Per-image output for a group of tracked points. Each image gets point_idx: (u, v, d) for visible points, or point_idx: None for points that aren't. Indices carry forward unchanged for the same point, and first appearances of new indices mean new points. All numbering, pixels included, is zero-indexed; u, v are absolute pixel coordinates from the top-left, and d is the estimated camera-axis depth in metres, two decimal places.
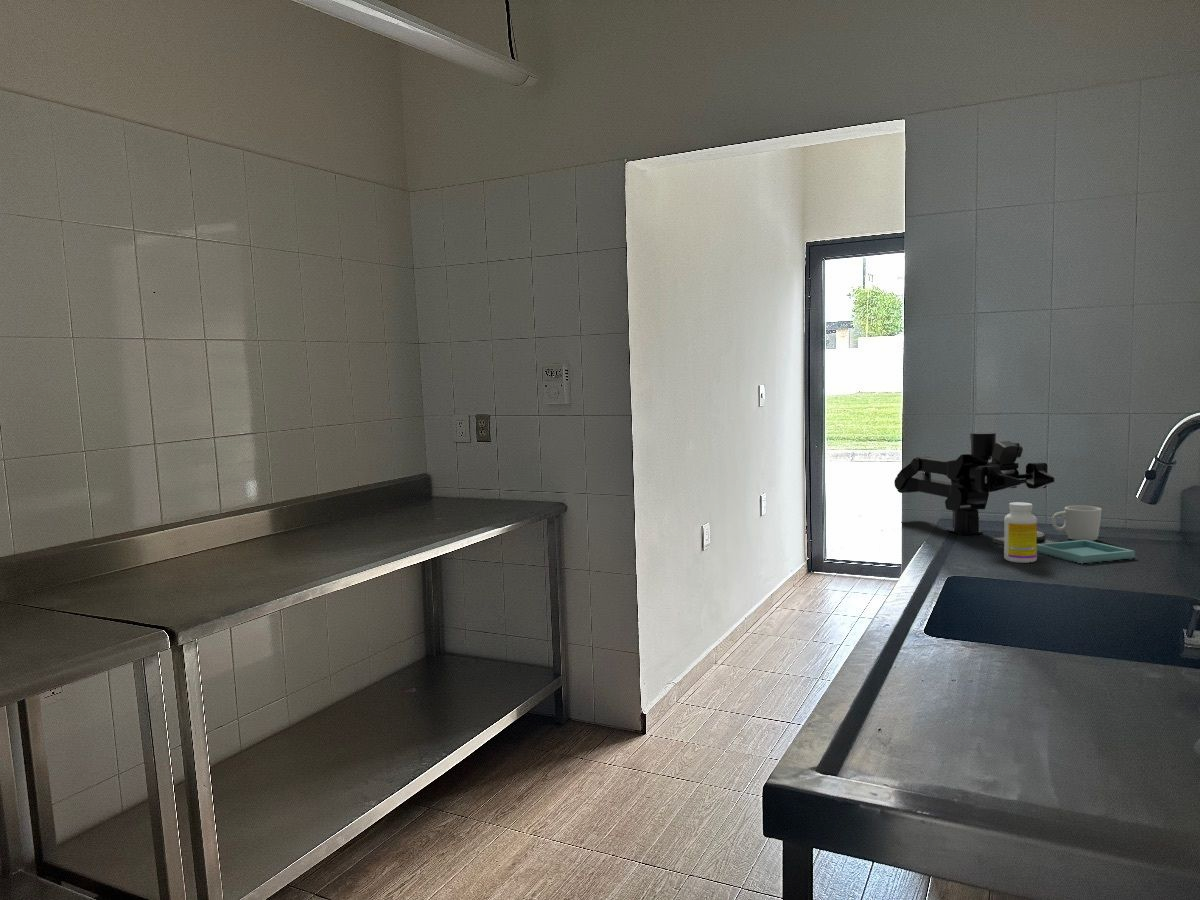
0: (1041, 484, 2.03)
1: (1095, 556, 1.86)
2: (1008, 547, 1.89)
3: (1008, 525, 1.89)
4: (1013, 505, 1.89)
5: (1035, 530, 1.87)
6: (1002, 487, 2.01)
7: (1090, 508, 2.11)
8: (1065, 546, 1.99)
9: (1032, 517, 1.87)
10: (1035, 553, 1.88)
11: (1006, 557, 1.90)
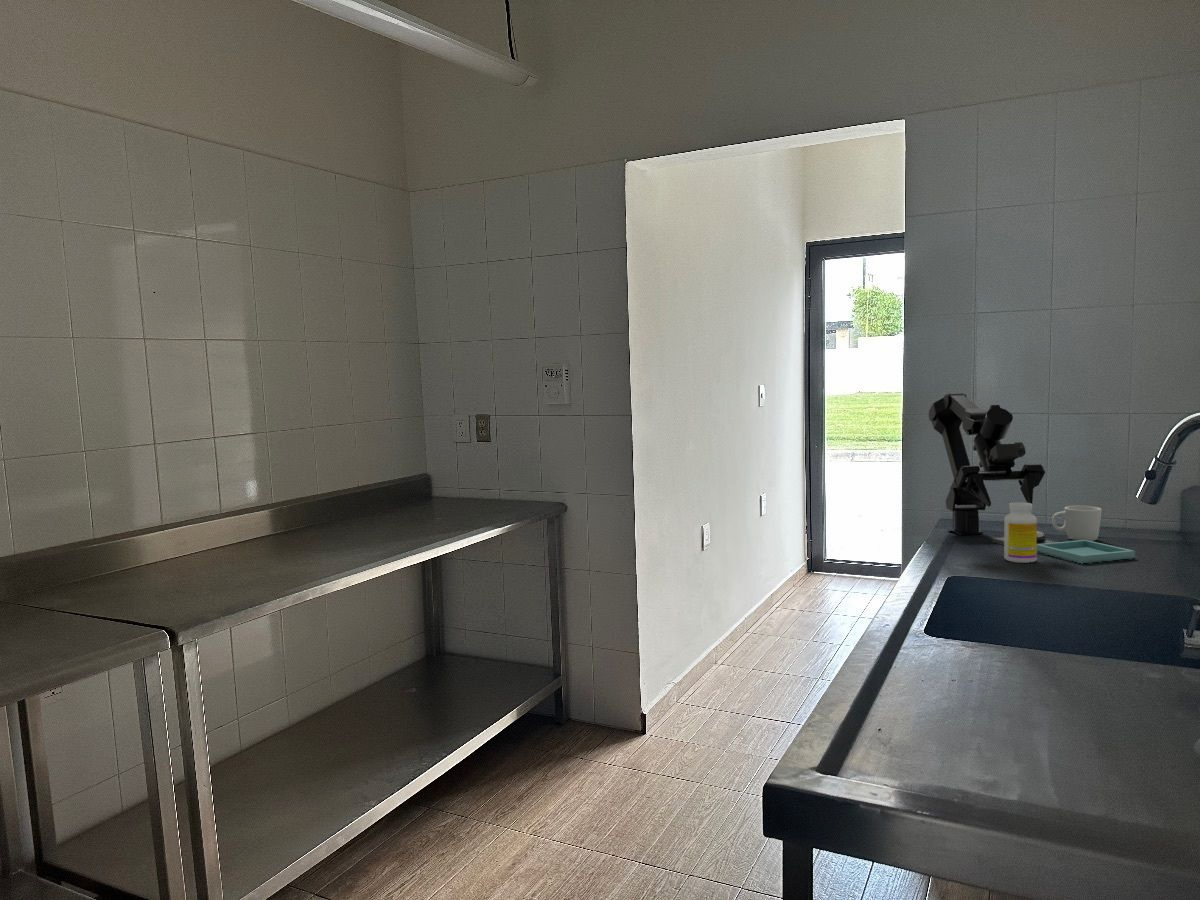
0: (1024, 494, 1.99)
1: (1095, 556, 1.86)
2: (1008, 547, 1.89)
3: (1008, 525, 1.89)
4: (1013, 505, 1.89)
5: (1035, 530, 1.87)
6: (976, 495, 1.99)
7: (1090, 508, 2.11)
8: (1065, 546, 1.99)
9: (1032, 517, 1.87)
10: (1035, 553, 1.88)
11: (1006, 557, 1.90)
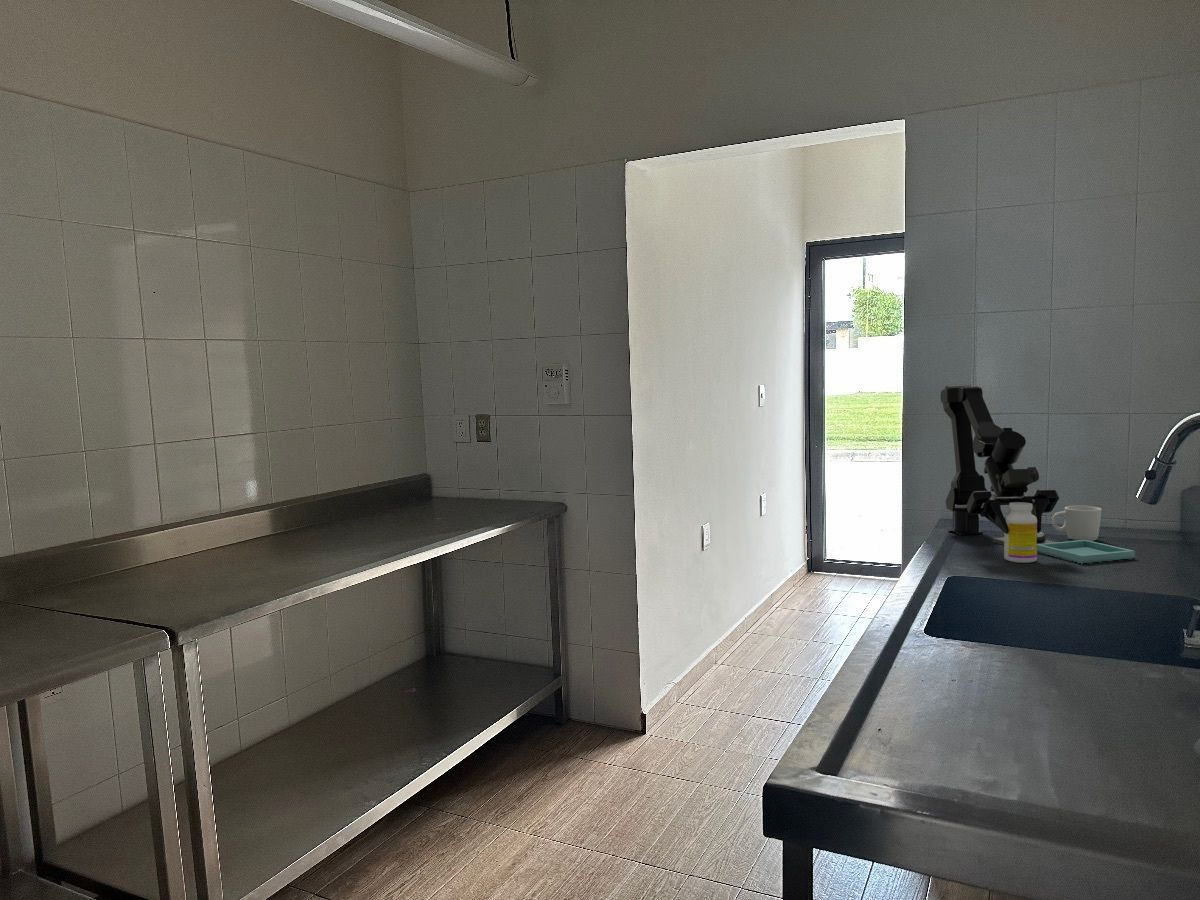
0: None
1: (1095, 556, 1.86)
2: (1008, 546, 1.89)
3: (1008, 525, 1.89)
4: (1013, 505, 1.89)
5: (1035, 530, 1.87)
6: (993, 521, 1.93)
7: (1090, 508, 2.11)
8: (1065, 546, 1.99)
9: (1032, 517, 1.87)
10: (1035, 553, 1.88)
11: (1006, 557, 1.90)
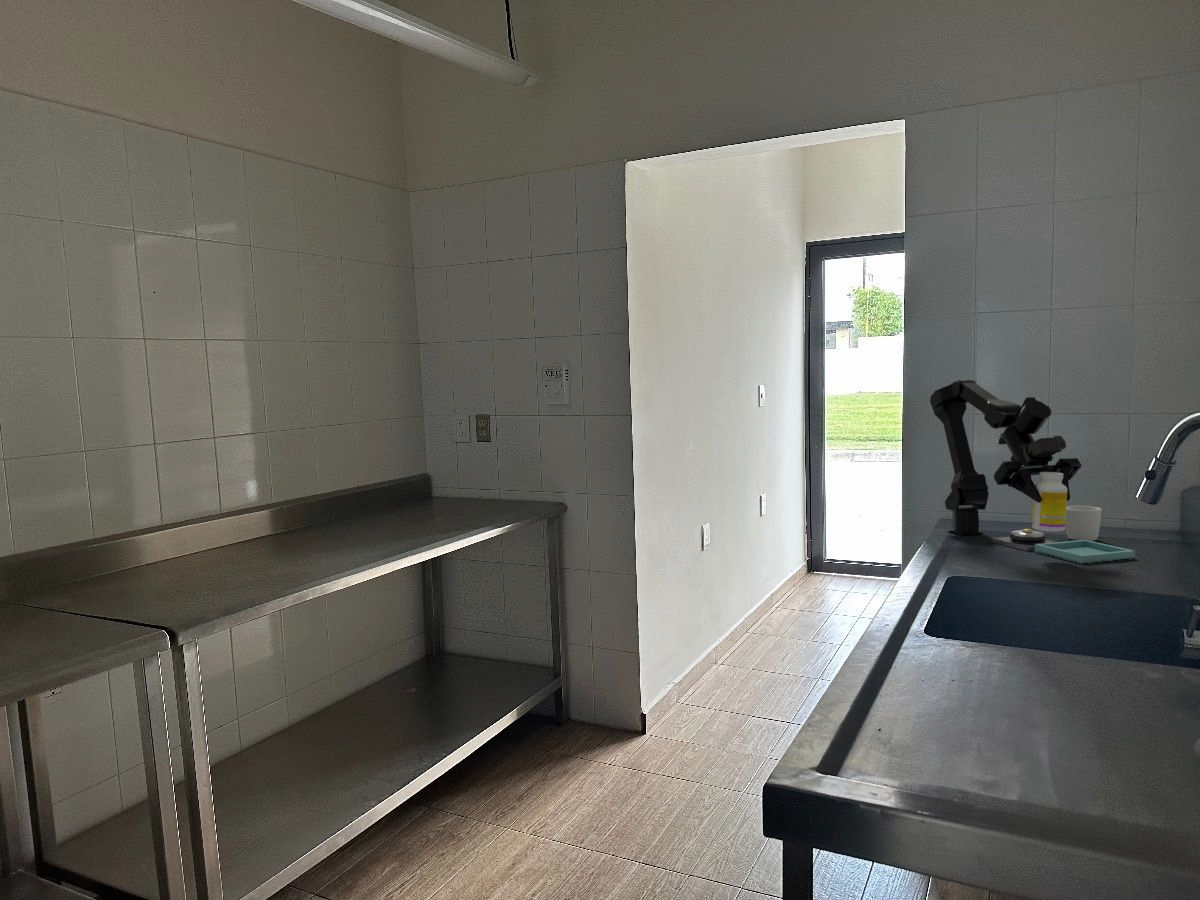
0: None
1: (1095, 556, 1.86)
2: (1039, 516, 1.89)
3: (1041, 494, 1.89)
4: (1046, 474, 1.89)
5: (1066, 499, 1.88)
6: (1022, 491, 1.92)
7: (1090, 508, 2.11)
8: (1065, 546, 1.99)
9: (1064, 486, 1.88)
10: (1065, 522, 1.89)
11: (1037, 526, 1.90)
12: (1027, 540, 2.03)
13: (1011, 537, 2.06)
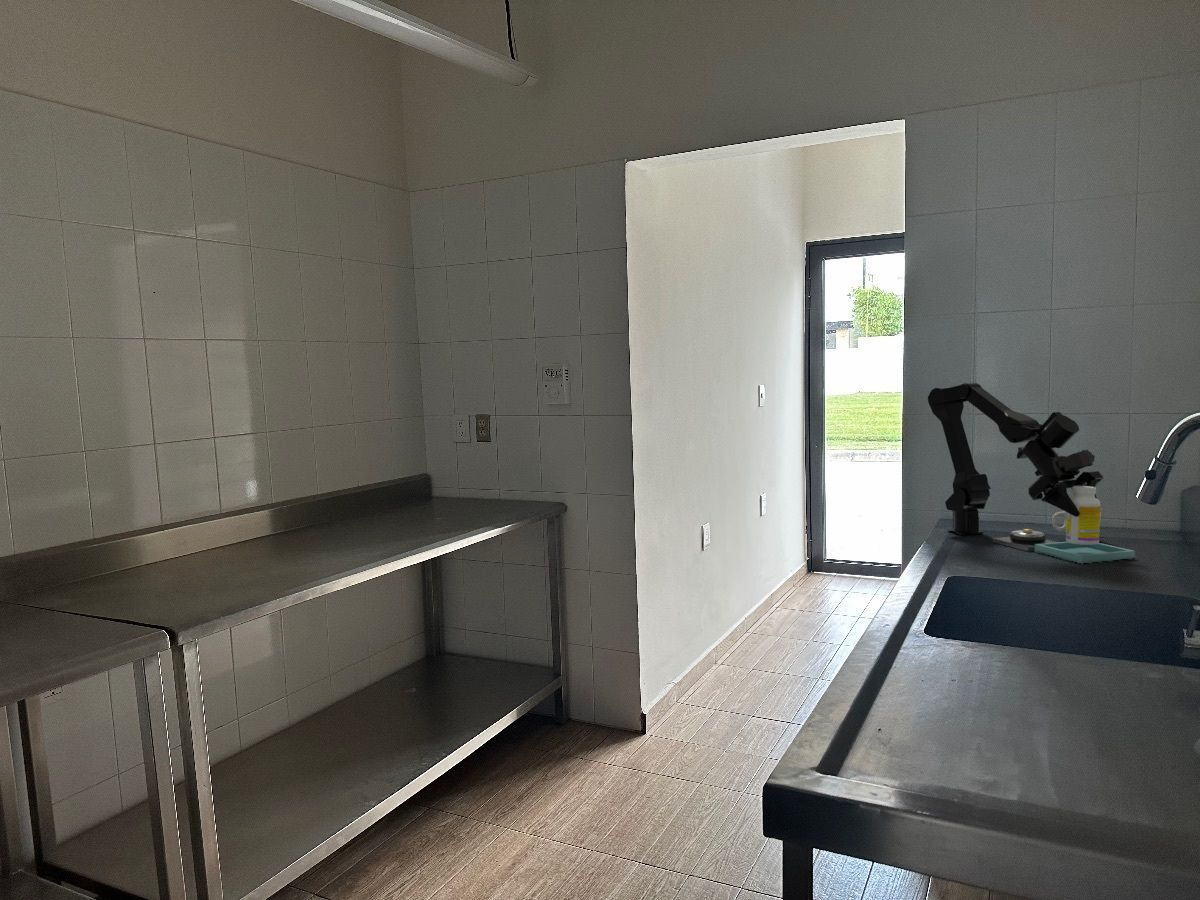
0: None
1: (1095, 556, 1.86)
2: (1077, 530, 1.91)
3: (1078, 509, 1.90)
4: (1082, 489, 1.91)
5: None
6: (1057, 506, 1.93)
7: None
8: (1065, 546, 1.99)
9: (1098, 500, 1.91)
10: None
11: (1074, 541, 1.91)
12: (1027, 540, 2.03)
13: (1011, 537, 2.06)
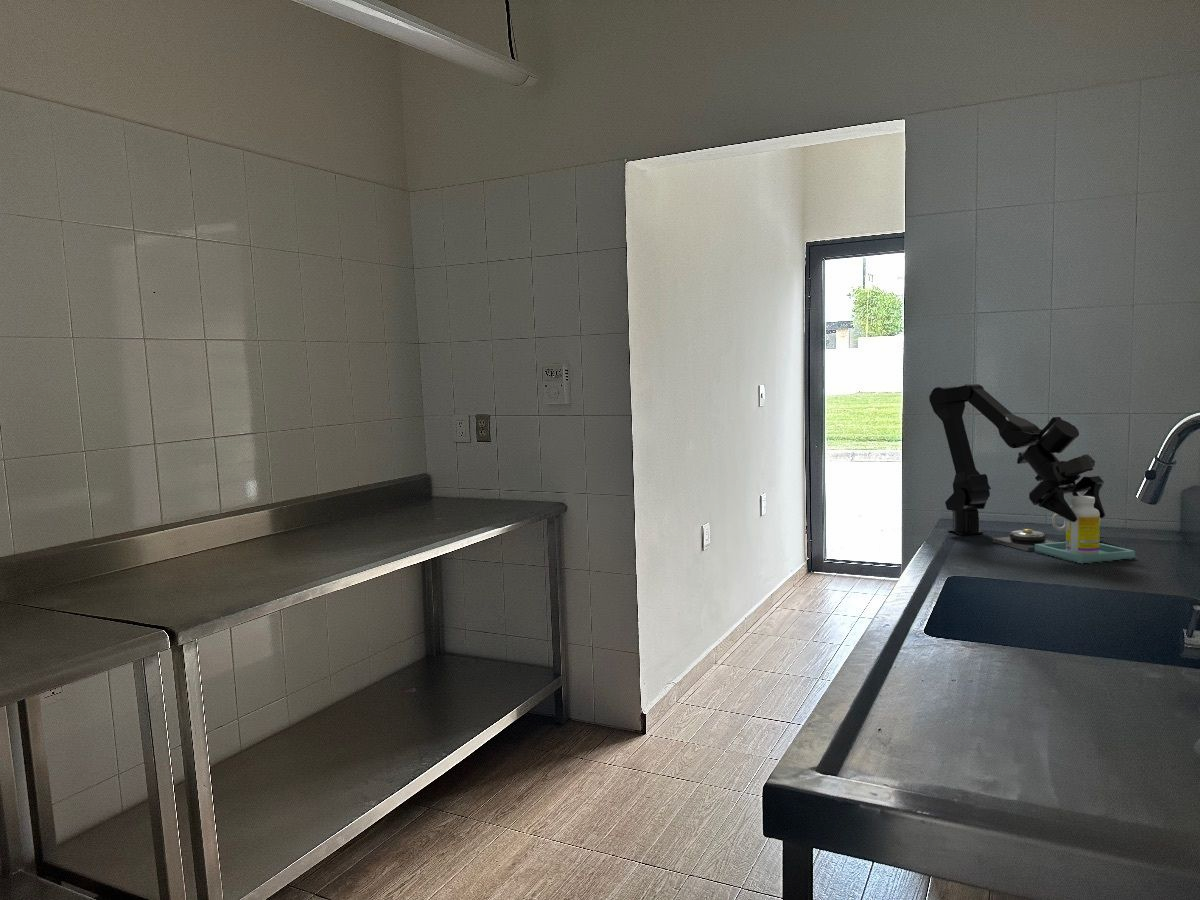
0: None
1: (1095, 556, 1.86)
2: (1077, 540, 1.91)
3: (1078, 519, 1.90)
4: (1081, 499, 1.91)
5: None
6: (1055, 511, 1.93)
7: None
8: (1065, 546, 1.99)
9: None
10: None
11: (1075, 551, 1.92)
12: (1027, 540, 2.03)
13: (1011, 537, 2.06)
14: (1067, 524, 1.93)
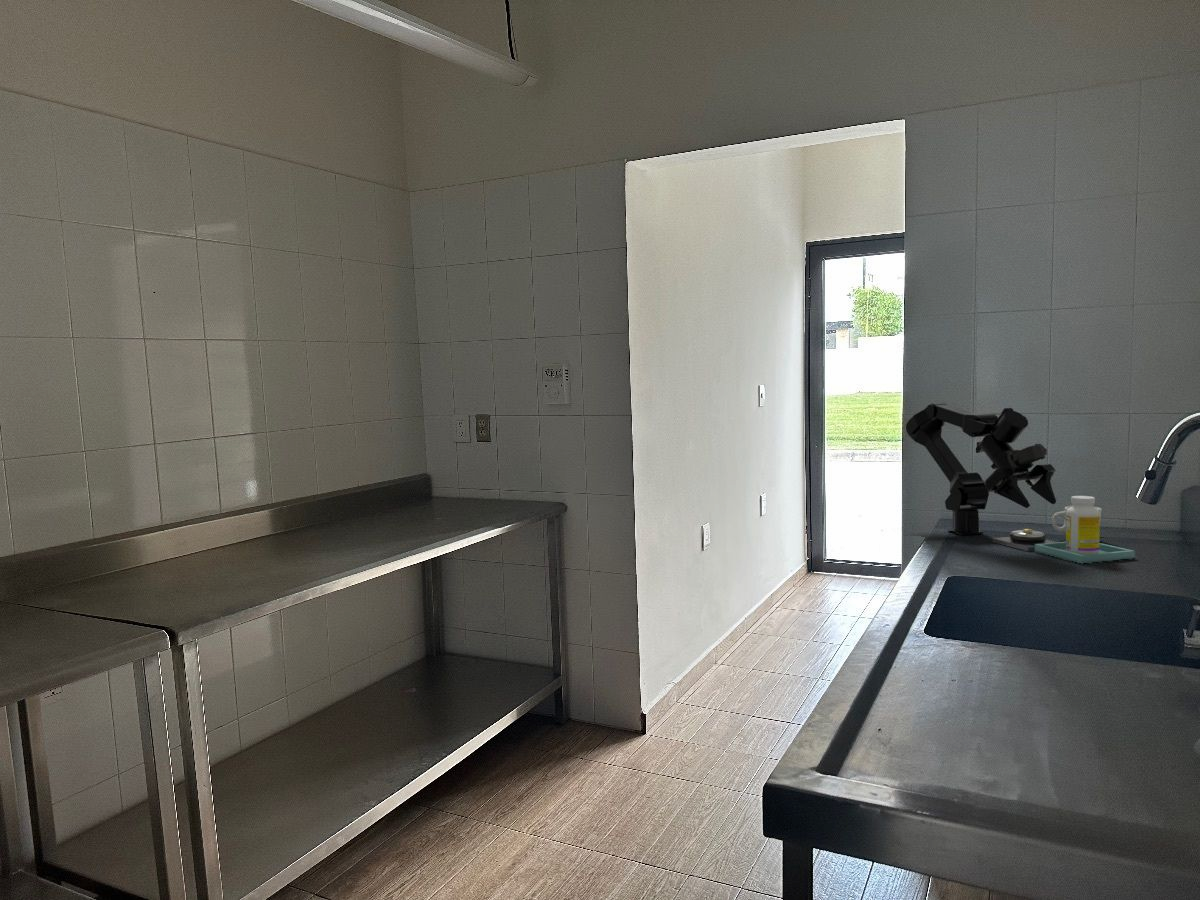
0: (1040, 493, 2.06)
1: (1095, 556, 1.86)
2: (1077, 540, 1.91)
3: (1078, 519, 1.90)
4: (1081, 499, 1.91)
5: None
6: (1009, 497, 2.01)
7: None
8: (1065, 546, 1.99)
9: None
10: None
11: (1075, 551, 1.91)
12: (1027, 540, 2.03)
13: (1011, 537, 2.06)
14: (1067, 524, 1.93)
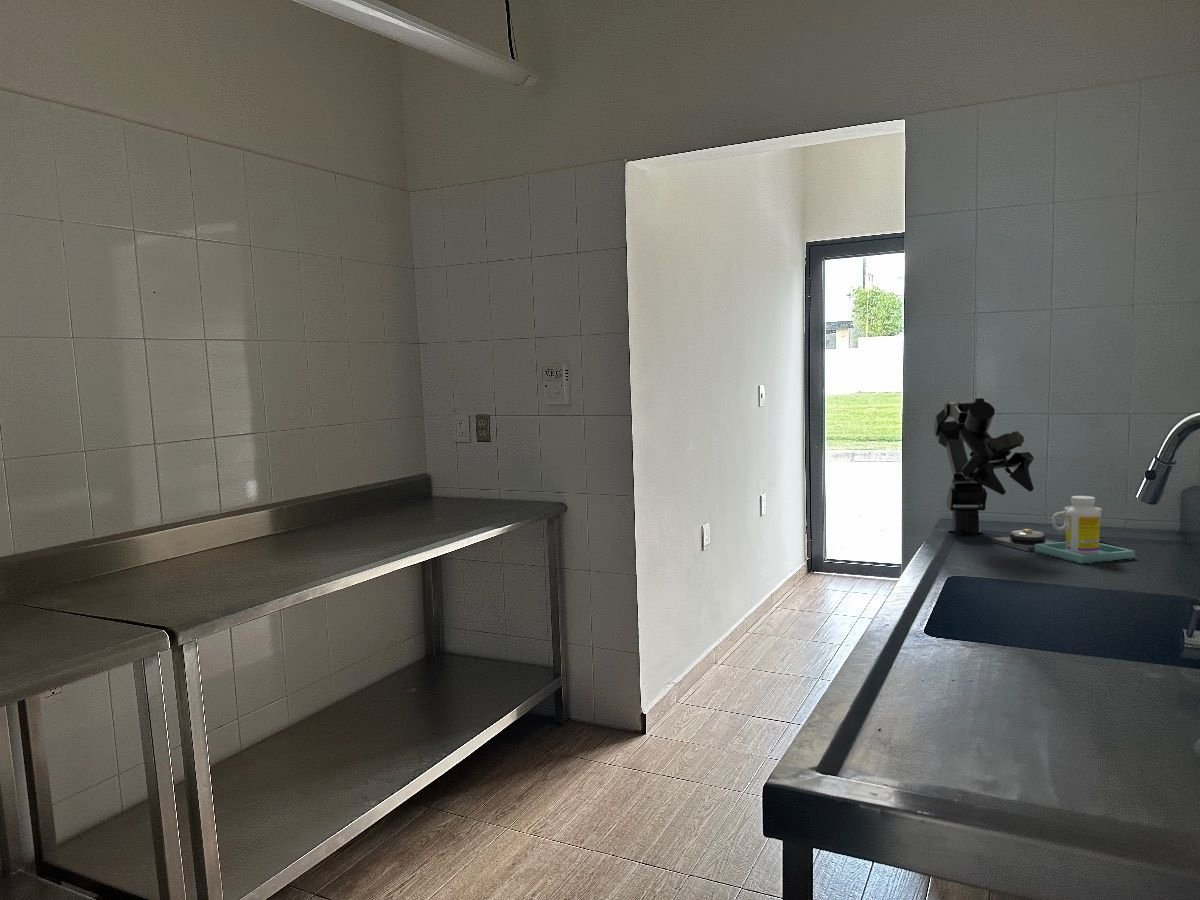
0: (1018, 481, 2.07)
1: (1095, 556, 1.86)
2: (1078, 540, 1.91)
3: (1078, 519, 1.90)
4: (1081, 499, 1.91)
5: None
6: (985, 485, 2.03)
7: None
8: (1065, 546, 1.99)
9: None
10: None
11: (1075, 551, 1.91)
12: (1027, 540, 2.03)
13: (1011, 537, 2.06)
14: (1067, 524, 1.93)
